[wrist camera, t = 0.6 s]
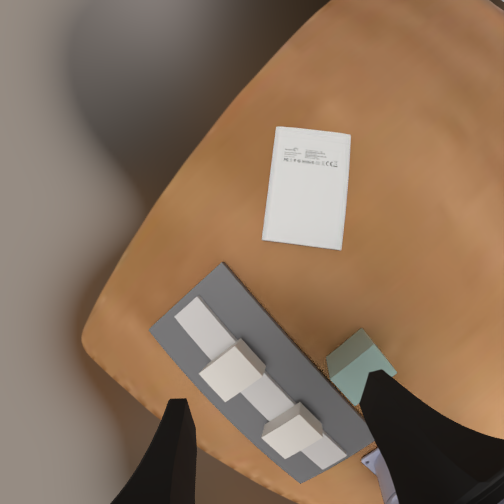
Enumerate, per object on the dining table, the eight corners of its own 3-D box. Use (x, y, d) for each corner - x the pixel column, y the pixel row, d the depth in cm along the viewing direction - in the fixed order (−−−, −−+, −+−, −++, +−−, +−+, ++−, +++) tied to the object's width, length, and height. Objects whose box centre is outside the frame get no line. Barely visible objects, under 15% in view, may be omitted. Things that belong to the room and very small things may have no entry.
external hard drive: (263, 240, 32) (276, 131, 32) (339, 250, 31) (349, 139, 30) (261, 239, 31) (275, 125, 30) (341, 250, 29) (351, 134, 29)
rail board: (377, 433, 29) (385, 454, 25) (300, 479, 31) (299, 501, 26) (224, 262, 32) (211, 263, 28) (152, 327, 34) (132, 337, 29)
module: (382, 352, 29) (397, 372, 24) (347, 380, 30) (354, 406, 24) (361, 327, 30) (373, 343, 24) (325, 357, 30) (330, 379, 25)
